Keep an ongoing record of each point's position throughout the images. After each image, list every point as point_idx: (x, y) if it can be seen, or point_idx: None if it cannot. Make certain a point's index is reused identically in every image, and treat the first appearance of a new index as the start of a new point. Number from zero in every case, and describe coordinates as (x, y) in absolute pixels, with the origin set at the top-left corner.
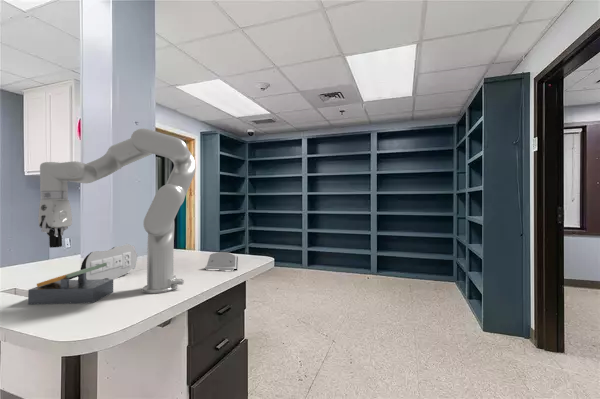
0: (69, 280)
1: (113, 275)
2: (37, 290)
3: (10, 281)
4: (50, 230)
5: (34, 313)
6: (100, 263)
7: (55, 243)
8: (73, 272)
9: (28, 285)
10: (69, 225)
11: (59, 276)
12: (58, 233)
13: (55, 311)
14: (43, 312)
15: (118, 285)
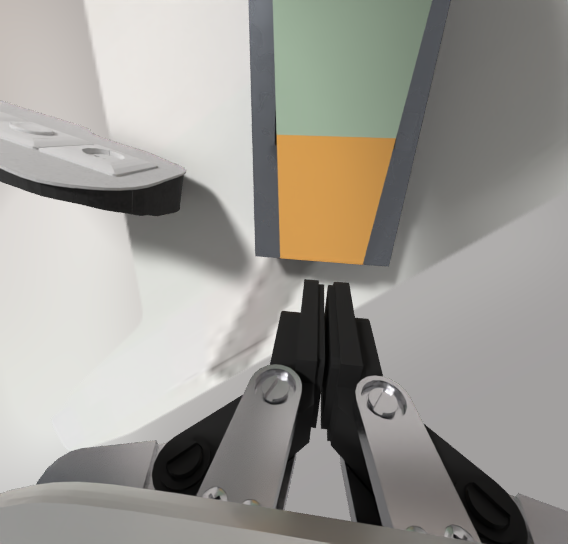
0: (262, 197)
1: (58, 122)
2: (395, 233)
3: (159, 408)
4: (524, 531)
5: (497, 157)
6: (70, 147)
7: (361, 323)
8: (343, 126)
9: (186, 357)
10: (71, 502)
11: (287, 229)
12: (298, 420)
13: (507, 83)
14: (499, 129)
15: (151, 23)
